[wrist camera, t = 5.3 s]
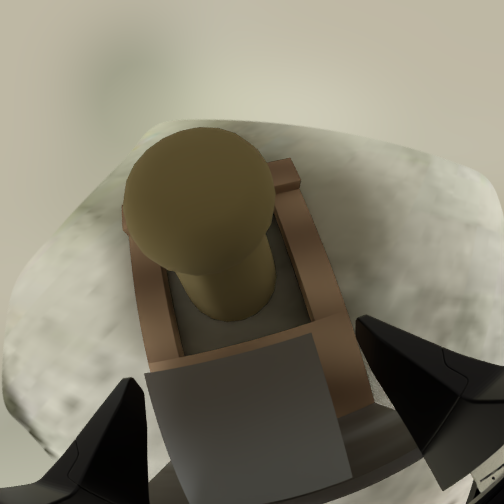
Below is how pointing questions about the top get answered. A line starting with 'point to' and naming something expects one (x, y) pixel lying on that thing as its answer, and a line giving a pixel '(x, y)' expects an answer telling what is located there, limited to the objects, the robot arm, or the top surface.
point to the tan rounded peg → (206, 218)
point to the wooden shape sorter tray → (268, 391)
